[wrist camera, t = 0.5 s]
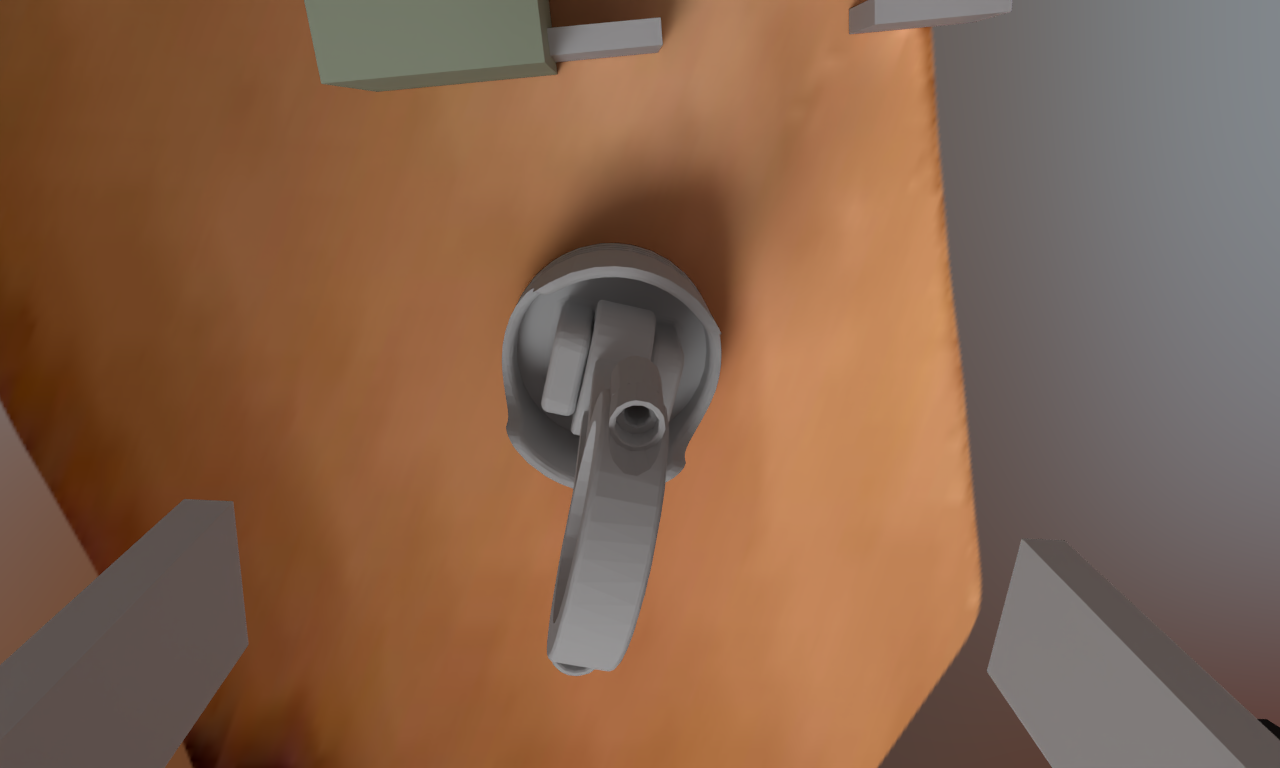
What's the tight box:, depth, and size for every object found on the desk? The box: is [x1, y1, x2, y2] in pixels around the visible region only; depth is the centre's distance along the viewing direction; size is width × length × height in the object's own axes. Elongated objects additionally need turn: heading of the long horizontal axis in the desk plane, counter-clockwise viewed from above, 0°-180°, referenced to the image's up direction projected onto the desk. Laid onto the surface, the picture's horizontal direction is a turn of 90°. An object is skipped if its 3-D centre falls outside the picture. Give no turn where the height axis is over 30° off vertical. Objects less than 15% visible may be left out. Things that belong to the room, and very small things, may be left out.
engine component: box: [502, 243, 721, 676], centre depth 29 cm, size 11×20×10 cm
